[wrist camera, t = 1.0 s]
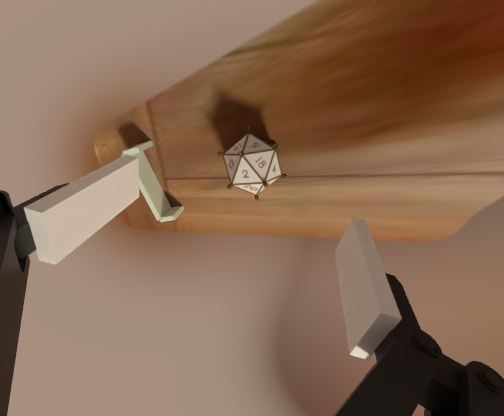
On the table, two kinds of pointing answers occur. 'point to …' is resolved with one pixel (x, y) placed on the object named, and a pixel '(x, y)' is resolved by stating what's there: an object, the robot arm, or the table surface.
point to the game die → (252, 164)
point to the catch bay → (152, 186)
